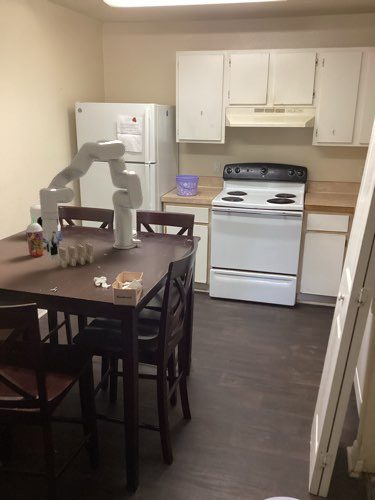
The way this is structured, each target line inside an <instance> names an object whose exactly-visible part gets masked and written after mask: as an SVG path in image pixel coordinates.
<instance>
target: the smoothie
mask: <svg viewBox="0 0 375 500" xmlns="http://www.w3.org/2000/svg"><path fill="white" fill-rule="evenodd" d="M25 234H26V241H27V245H28V251H29V255H30V256H31V257H32V258H38V257H41V256H43V254H44V242H43V239H44V238H43V230H42V227H41V226H40V225H39V224H38V223H34V217H33V223H31V222H30V223H29V224H28V225H27V226H26V229H25Z"/></svg>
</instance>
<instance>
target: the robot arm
mask: <svg viewBox="0 0 375 500" xmlns="http://www.w3.org/2000/svg"><path fill="white" fill-rule="evenodd" d="M125 154H126V146H125V144H124V143H123V142H122V141H121V140H115V139H114V140H113V139H100V140H97V141H96V142H95V141H94V142H93V141H91V142H89V141H88V142H84V143H83V144H82V145H81V146H80V148H79V150H78V151H77V153H76V154H75V156H74V157H73V159H72V161H71V162H70V164H69V165H67V166H65V168H64V169H62V170H61V171H59V172H58V173H57V174H56V175H54V177H53V178H52V180H51V181H50V183H49V185H48V186H47V187H44V188H41V189H39V204H40V207H41V219H42V230H43V237H44V238H45V239H46V243H45V244H46V252H47V253H49V243H48V241H50V244H51V247H50V251H51V255H56V256H57V255H59V247H58V245H57V242H58V241H57V240H58V239H59V234H58V225H57V219H58V220H59V207H58V205H59V204H68V203H72V201H73V200H74V199H75V197H76V195H75V191H74V190H73V189H72V188H70V187H68V186H67V185H68V184H69V183H71V182H72V181H75V180H78V179H81V178H83V177H85V176H86V174H87V172H88V171H89V170H90V168H91V166H92V165H93V163H94V162H95V161H97V162H98V161H99V162H105V161H107V163H108V166H109V172H110V177H111V178H110V179H111V183H112V185H113V186H114V187H115V188H118V189H116V190H115V191H114V192H113V194H112V196H111V197H112V198H111V200H112V204H113V210H114V228H115V229H114V230H115V231H114V232H115V234H114V235H115V242H114V243H113V244H112V247H113V248H114V249H119V250H128V249H129V250H130V249H133V248H136V246H137V244H142V241H141V239H135V238H134V236H133V235H134V232H133V213H132V210H139V209H140V208H141V207H142V206H143V198H144V197H143V190H142V184H141V178H140V177H139V175H138V174H137V173H136V172H135V171H132V170H131V171H130V170H127V165H126V162H125V161H126V160H125V159H124V155H125ZM44 238H43V239H44ZM52 239H54V240H52ZM52 241H54V242H53V243H52Z"/></svg>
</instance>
